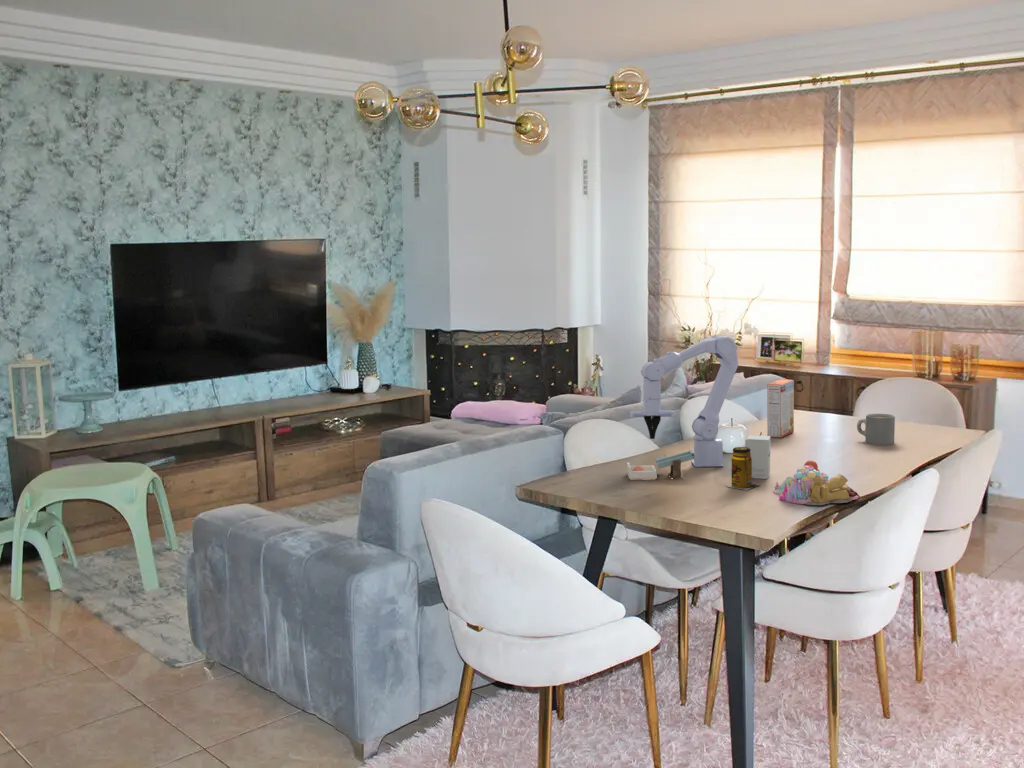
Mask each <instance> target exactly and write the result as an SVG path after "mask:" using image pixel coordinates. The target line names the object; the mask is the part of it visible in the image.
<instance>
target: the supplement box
mask: <svg viewBox="0 0 1024 768" xmlns="http://www.w3.org/2000/svg"><path fill="white" fill-rule="evenodd" d="M771 438H772V437H771V436H767V435H747V437H746V438H745V439H744V440H745V446H744V447H747V448H750V450H751V451H750V453H751V455H750V456H751V458H752V479H759V480H761V479H762V480H768V479H769V476H770V474H771Z"/></svg>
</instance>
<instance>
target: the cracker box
mask: <svg viewBox="0 0 1024 768" xmlns="http://www.w3.org/2000/svg"><path fill="white" fill-rule="evenodd" d="M794 382H795V380H794V379H786V378H784V379H777V380H775V381H773V382H769V383H767V384H766V389H767V390H766V393H767V394H766V397H767V399H766V401H767V403H766V405H767V406H766V407H767V408H766V410H767V411H766V413H767V415H766V418H767V421H766V422H767V427H766V429H767V435H766V436H771V438H775V439H776V438H778V439H782V438H783V437H786V436H788V435H790V434H793V433H794V430H795V429H794V428H795V425H794V424H795V421H794V419H795V417H794V416H795V415H794V414H795V412H794V411H795V407H794V406H795V405H794V403H795V401H794V400H795V397H794V395H795V390H794V389H795V385H794V384H795V383H794Z"/></svg>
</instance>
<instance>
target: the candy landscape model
mask: <svg viewBox="0 0 1024 768" xmlns="http://www.w3.org/2000/svg"><path fill="white" fill-rule="evenodd" d="M793 474H794V475H793V476H786V479H785V480H783V482H782V483H780V484H779V483H778V481H776V484H775V485H774V489H773V490H772V492H773V493H774V494H775V495H779V497H778V498H779V500H780V501H784V502H787V504H789V503H793V504H797V505H796V506H798V505H800V504H801V505H808V506H825V505H829V504H844V503H849V502H852V501H854V500H858V499H859V497H861V496H860V495H859V494H858V492H857V491H855V490H854V489H852V487H850V486H849V485H848V484H847V482H848V481H849V480H848V479H847V478H846V476H844V475H843V474H840V473H839V474H837V475H835V476H834V477H831V478H829V475H827V473H825V472H821V470H820V469H819V467H818V463H817V462H816V461H815V460H812V459H811V460H807V461H805V463H804V464H803V466H802V467H801V468H797V469H796V472H795V473H793Z"/></svg>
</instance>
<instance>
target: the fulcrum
mask: <svg viewBox="0 0 1024 768" xmlns="http://www.w3.org/2000/svg"><path fill="white" fill-rule="evenodd" d="M681 467H682V466H681V460H673V465H671V466H670V471H667V475H668V474H669V475H668V477H669V476H670V477H669V479H670V478H673V480H684V478H685V477H684V476H683V474H682V468H681Z"/></svg>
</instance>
